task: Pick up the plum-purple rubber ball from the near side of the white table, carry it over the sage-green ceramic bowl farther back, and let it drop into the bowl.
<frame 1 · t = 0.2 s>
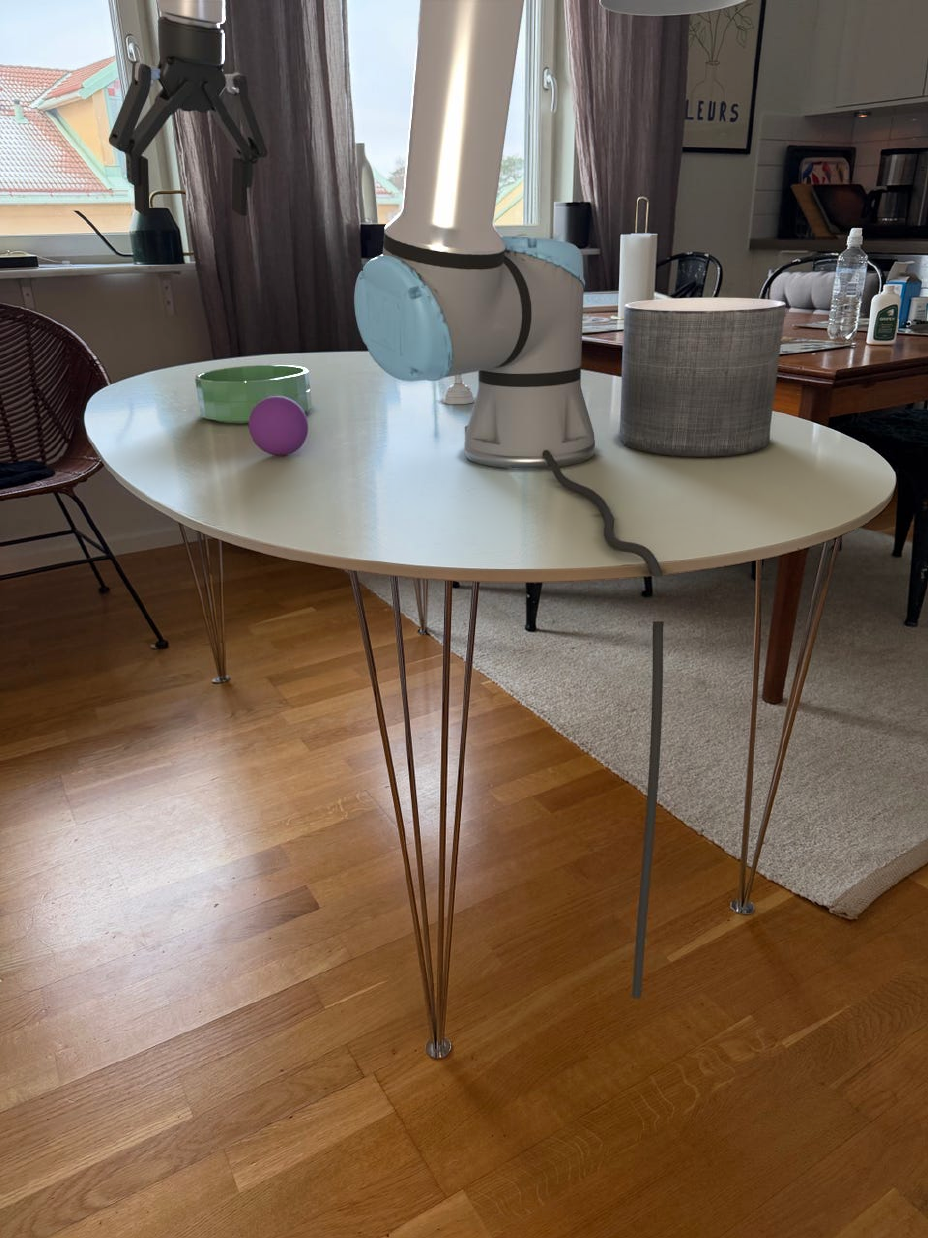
hand: (192, 212, 113), 27 cm above the table, tool tilted 20°, fingers open, 13 cm apart
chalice: (459, 402, 133), on the table
planter: (692, 442, 104), on the table
ball: (278, 425, 103), point 3 cm above the table
bowl: (257, 414, 128), on the table
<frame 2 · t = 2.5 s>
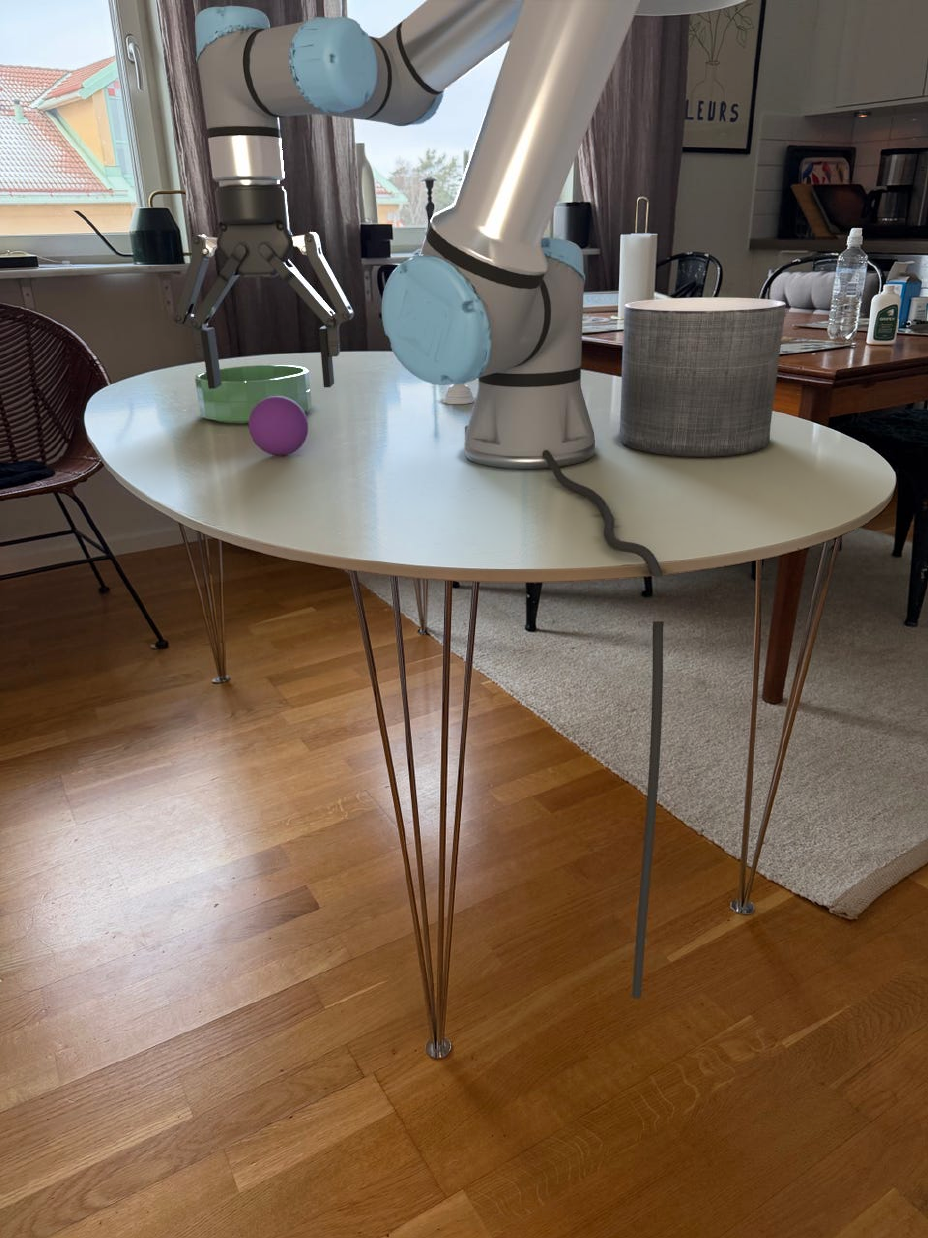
hand: (272, 386, 101), 8 cm above the table, tool pointing down, fingers open, 13 cm apart
nothing on the table moved.
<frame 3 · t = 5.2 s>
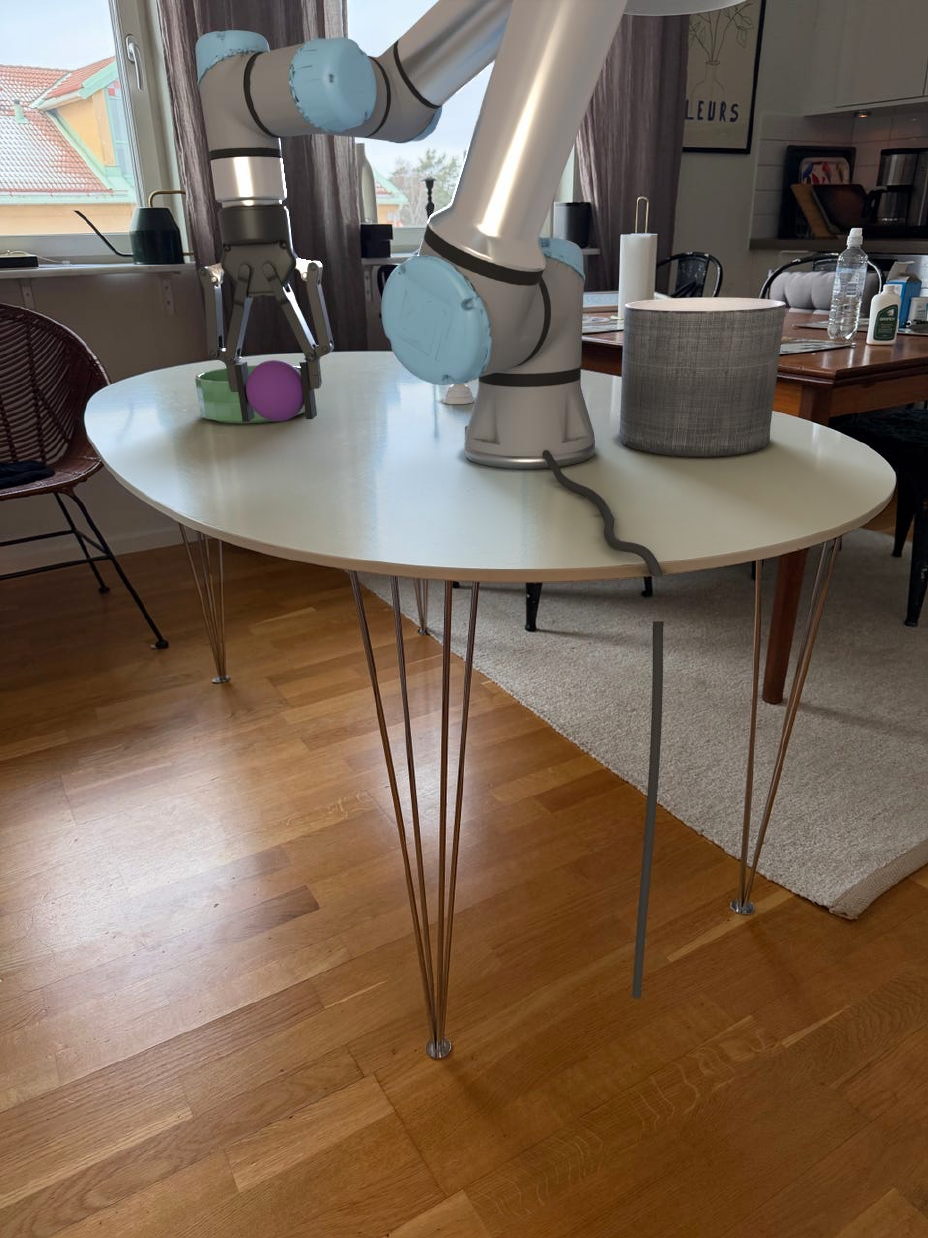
hand: (280, 417, 102), 4 cm above the table, tool pointing down, fingers closed on ball, 7 cm apart
ball: (276, 390, 101), point 8 cm above the table, touching gripper
everything else where it was.
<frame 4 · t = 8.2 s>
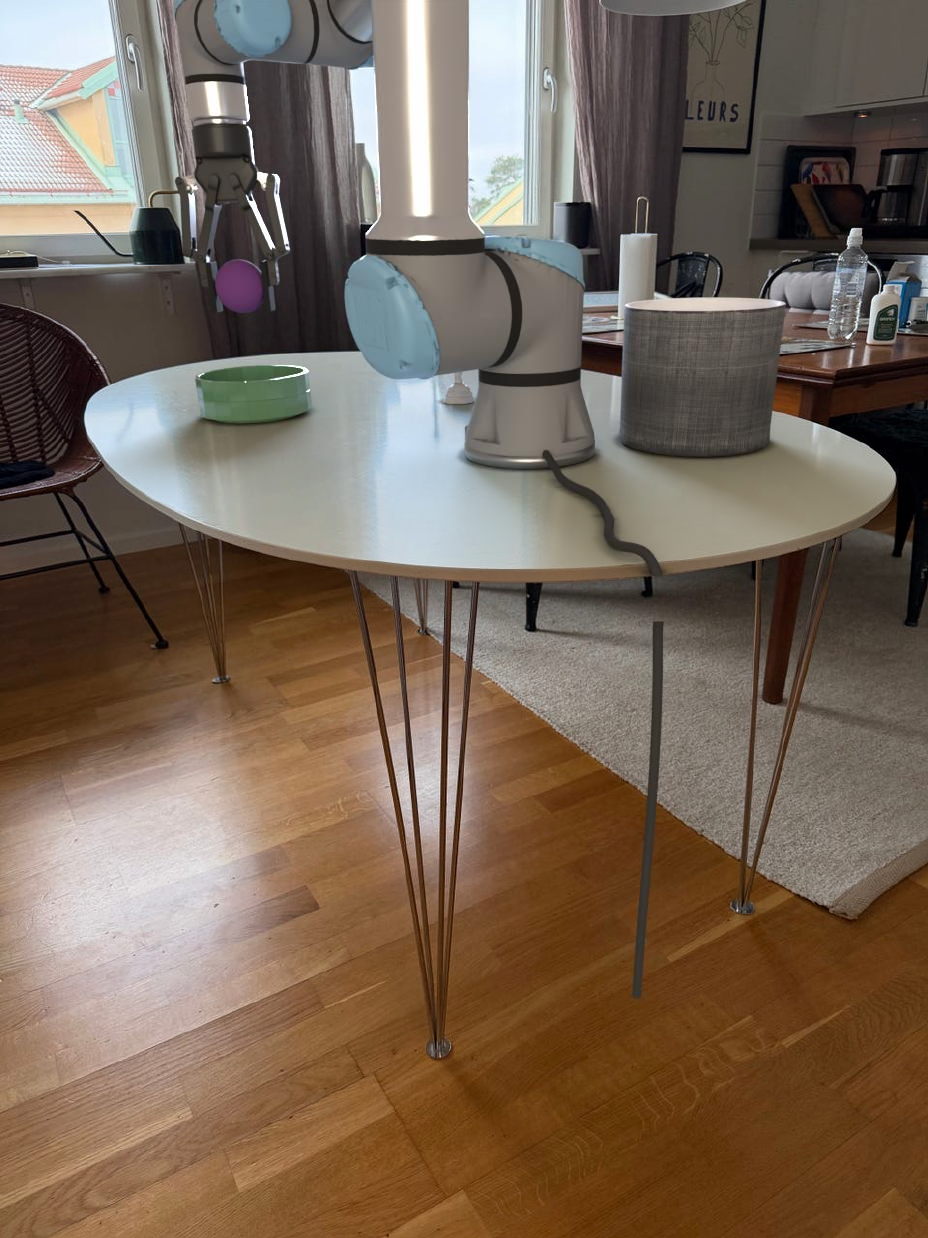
hand: (244, 310, 121), 15 cm above the table, tool pointing down, fingers closed on ball, 7 cm apart
ball: (241, 286, 120), point 18 cm above the table, touching gripper
everything else where it was.
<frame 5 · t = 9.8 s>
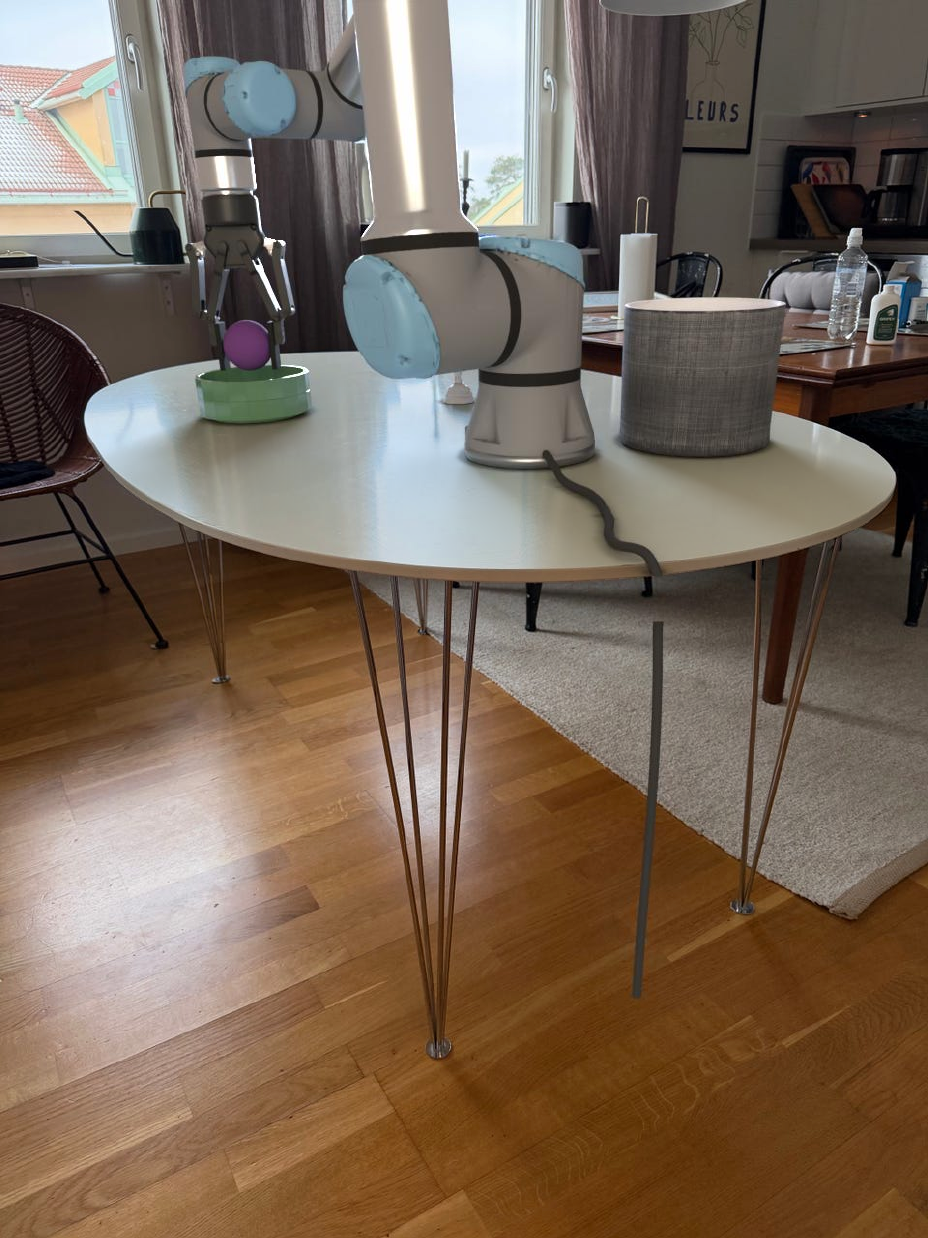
hand: (251, 368, 126), 7 cm above the table, tool pointing down, fingers closed on ball, 7 cm apart
ball: (248, 345, 124), point 10 cm above the table, touching gripper
everything else where it was.
when the fingers open (3 cm above the table, at t = 11.3 s): ball drops 2 cm, resting on bowl.
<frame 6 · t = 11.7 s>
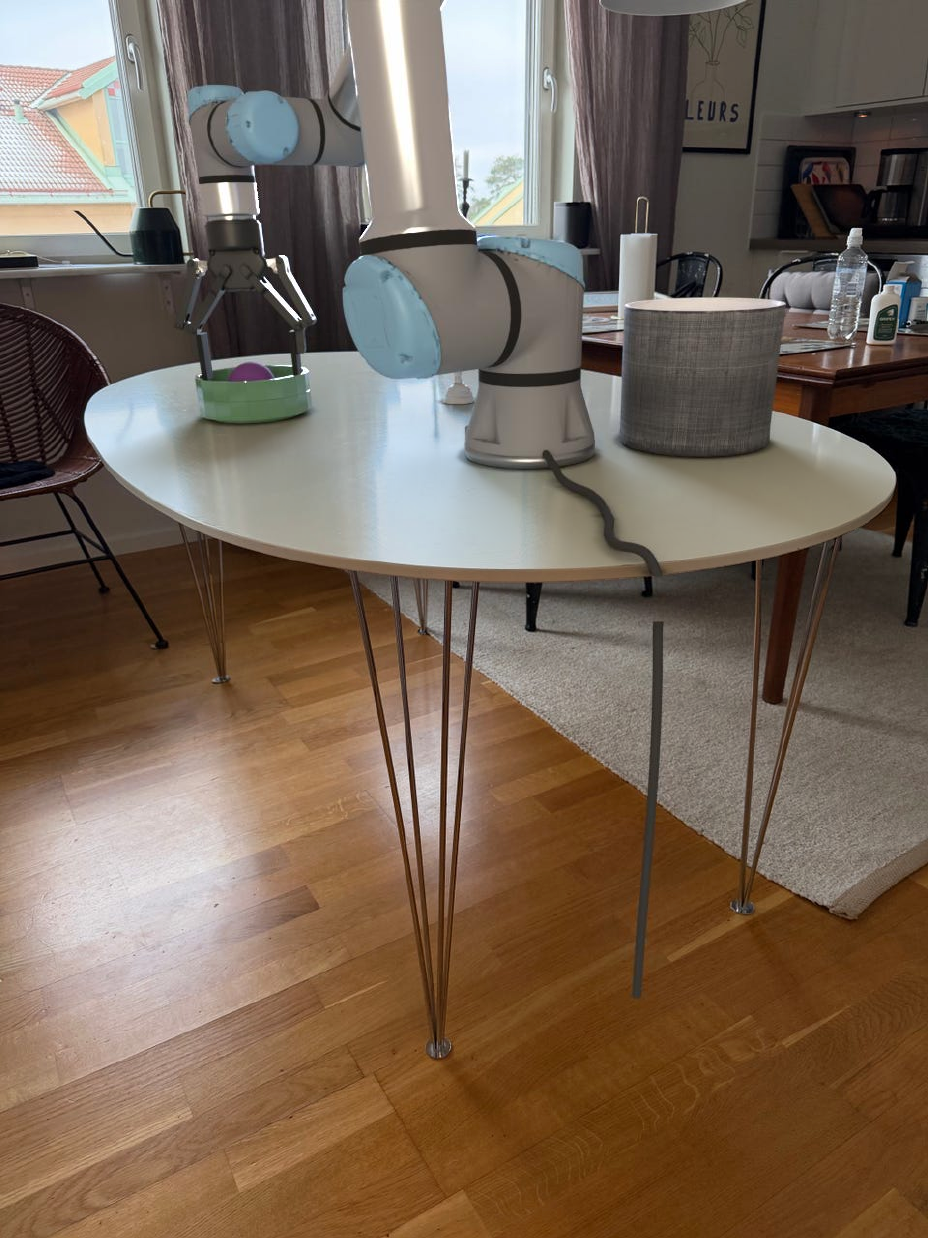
hand: (253, 378, 126), 5 cm above the table, tool pointing down, fingers open, 13 cm apart
ball: (252, 386, 127), point 4 cm above the table, touching bowl
everything else where it was.
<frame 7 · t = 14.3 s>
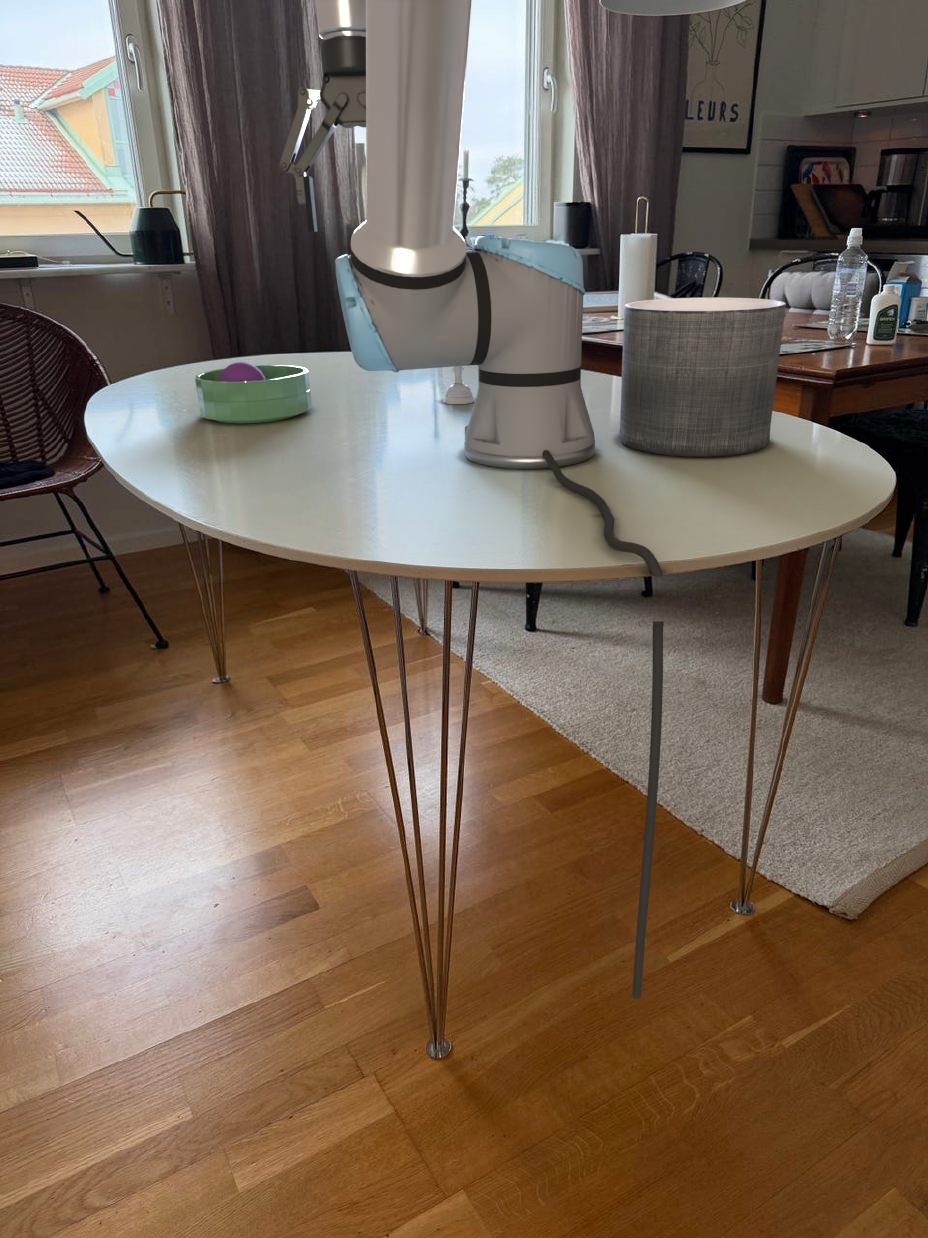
hand: (364, 230, 113), 25 cm above the table, tool pointing down, fingers open, 13 cm apart
ball: (242, 386, 127), point 4 cm above the table, tilted 27°, touching bowl
everything else where it was.
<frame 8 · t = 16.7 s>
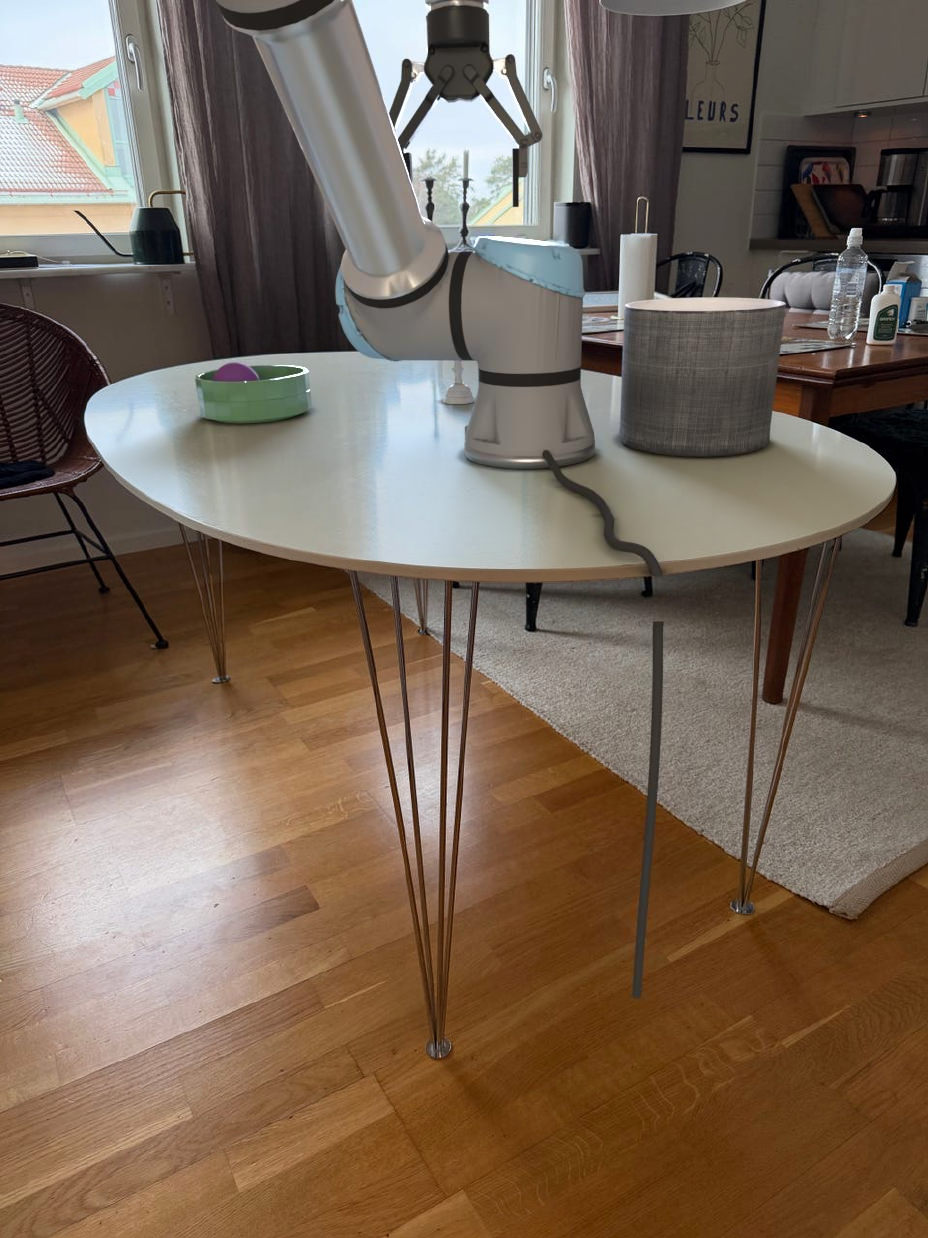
hand: (462, 208, 110), 27 cm above the table, tool pointing down, fingers open, 13 cm apart
ball: (236, 386, 127), point 4 cm above the table, tilted 42°, touching bowl
everything else where it was.
at the end: ball inside the target area in the bowl (2.5 cm from its centre), point 4.1 cm above the bowl's base; the gripper is holding nothing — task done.
